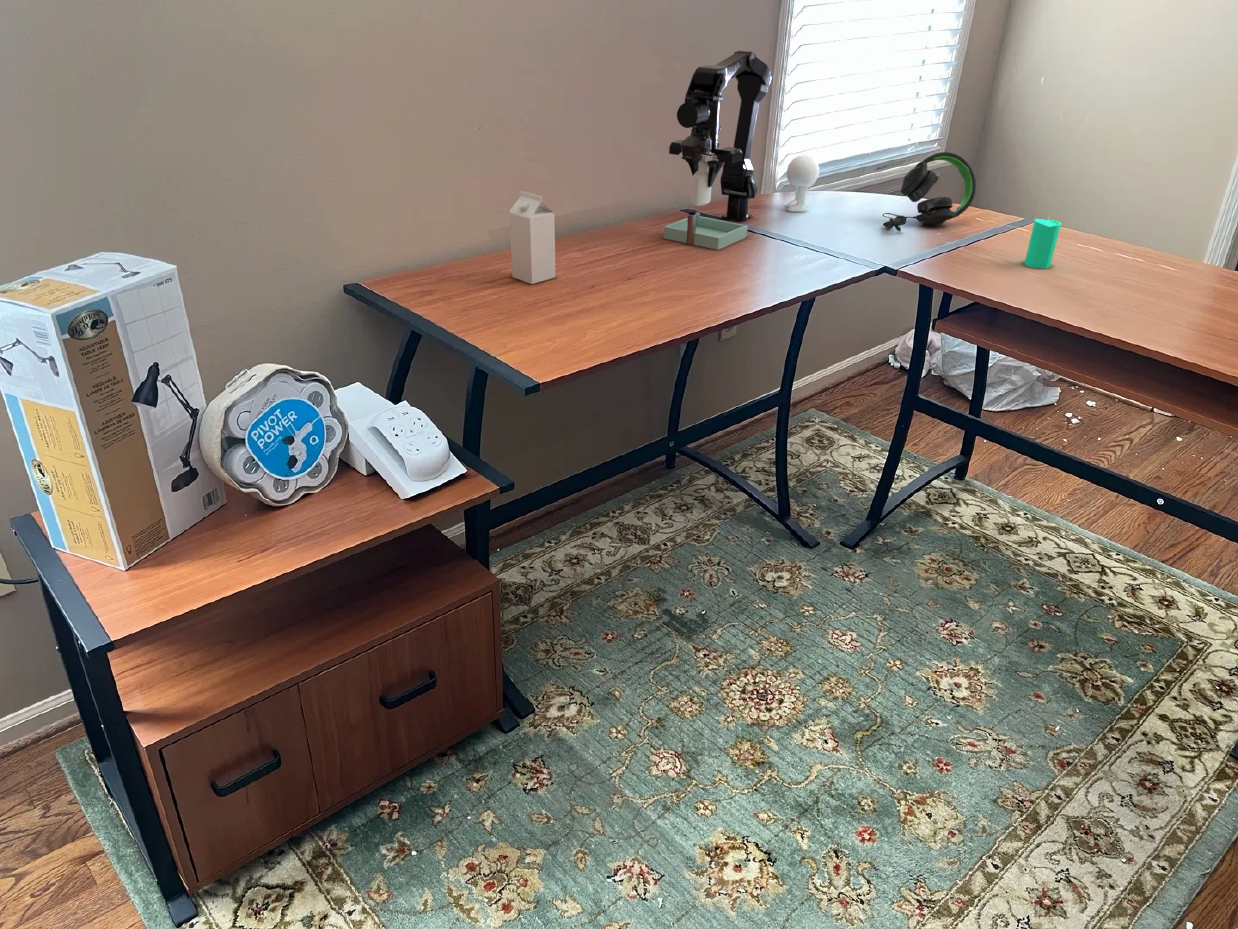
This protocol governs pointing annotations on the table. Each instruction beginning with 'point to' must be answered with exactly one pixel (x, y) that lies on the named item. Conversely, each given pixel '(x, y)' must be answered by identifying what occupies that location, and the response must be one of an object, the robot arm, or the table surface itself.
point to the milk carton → (532, 239)
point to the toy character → (801, 180)
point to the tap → (691, 226)
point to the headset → (921, 183)
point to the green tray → (707, 232)
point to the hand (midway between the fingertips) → (703, 185)
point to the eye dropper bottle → (701, 185)
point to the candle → (1042, 243)
